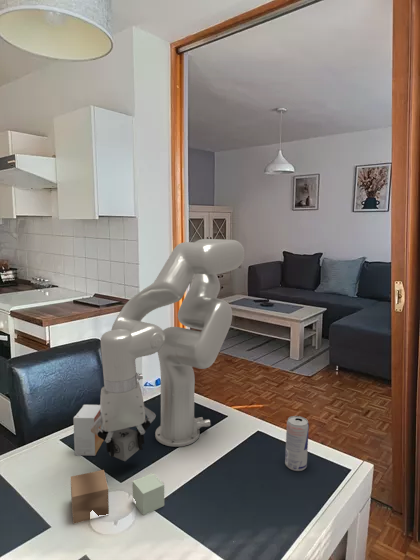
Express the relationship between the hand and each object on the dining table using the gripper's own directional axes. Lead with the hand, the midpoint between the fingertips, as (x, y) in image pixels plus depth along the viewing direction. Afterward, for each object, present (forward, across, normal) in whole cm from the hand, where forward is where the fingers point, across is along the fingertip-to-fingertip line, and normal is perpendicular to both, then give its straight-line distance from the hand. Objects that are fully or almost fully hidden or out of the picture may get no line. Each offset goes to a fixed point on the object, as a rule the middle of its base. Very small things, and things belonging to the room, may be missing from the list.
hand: (125, 449), depth 98 cm
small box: (+6, +8, -13) cm, 16 cm away
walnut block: (+4, +10, +11) cm, 16 cm away
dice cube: (+1, 0, 0) cm, 1 cm away
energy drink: (+7, -40, +13) cm, 43 cm away
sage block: (+5, -2, +14) cm, 15 cm away
